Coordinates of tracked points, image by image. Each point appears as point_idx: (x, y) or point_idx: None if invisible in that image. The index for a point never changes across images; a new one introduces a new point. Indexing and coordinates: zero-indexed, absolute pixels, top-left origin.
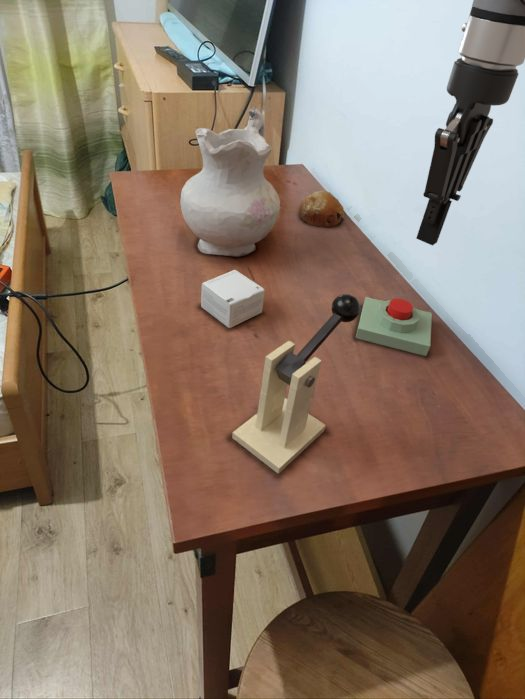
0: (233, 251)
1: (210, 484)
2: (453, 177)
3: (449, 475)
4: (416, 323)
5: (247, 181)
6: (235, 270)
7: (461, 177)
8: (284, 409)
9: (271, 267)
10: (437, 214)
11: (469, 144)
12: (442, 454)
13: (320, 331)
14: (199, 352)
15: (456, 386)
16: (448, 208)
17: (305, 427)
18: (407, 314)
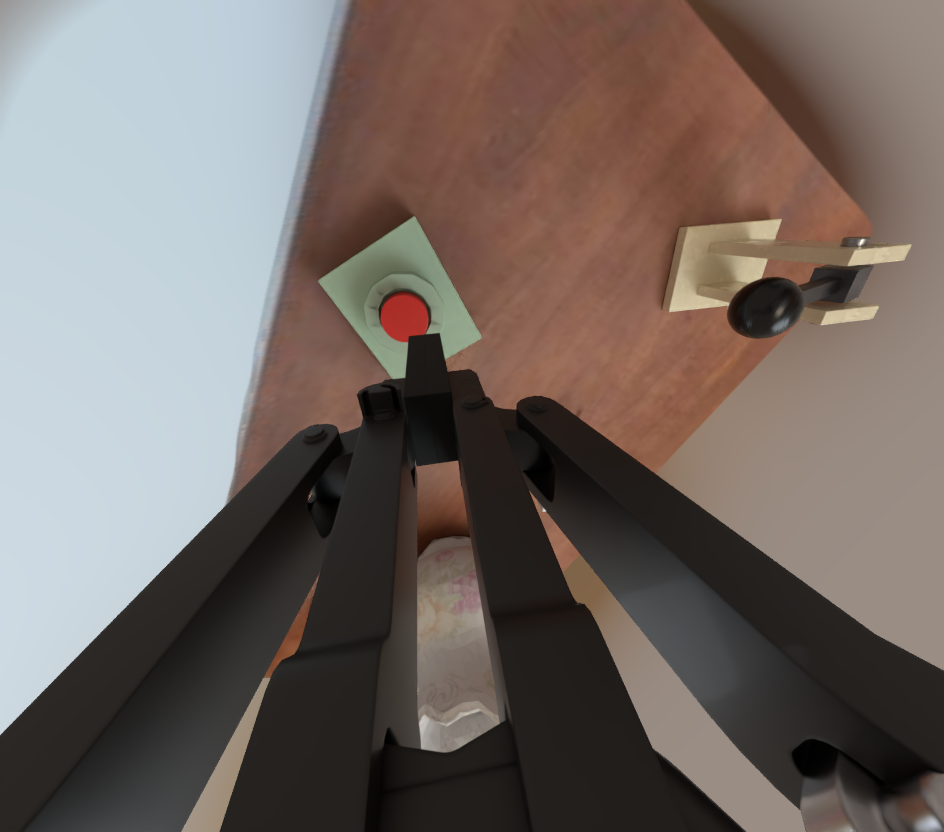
0: (471, 545)
1: (810, 265)
2: (508, 470)
3: None
4: (398, 273)
5: (479, 648)
6: (544, 510)
7: (356, 470)
8: (690, 288)
9: (445, 505)
10: (464, 385)
11: (593, 730)
12: (619, 26)
13: (807, 300)
14: (645, 424)
15: (438, 112)
16: (413, 382)
17: (705, 245)
18: (412, 295)
